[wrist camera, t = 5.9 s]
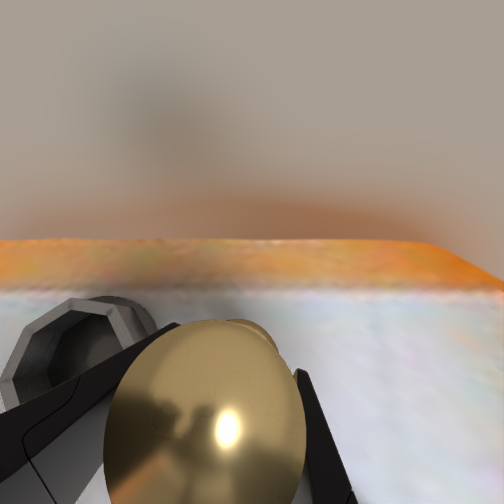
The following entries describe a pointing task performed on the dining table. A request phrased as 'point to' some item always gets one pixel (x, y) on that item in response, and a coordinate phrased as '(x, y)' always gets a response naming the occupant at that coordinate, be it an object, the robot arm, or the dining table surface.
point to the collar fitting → (71, 344)
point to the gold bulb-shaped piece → (206, 420)
